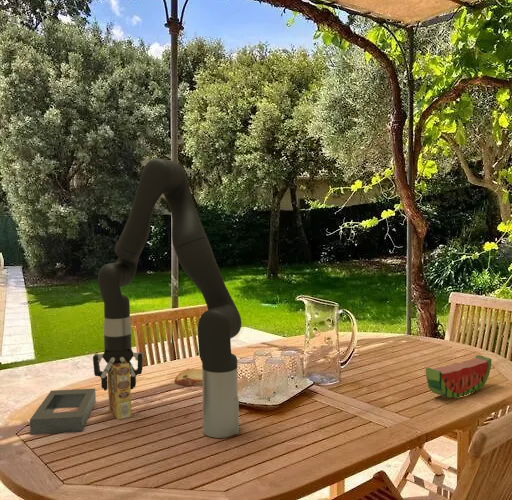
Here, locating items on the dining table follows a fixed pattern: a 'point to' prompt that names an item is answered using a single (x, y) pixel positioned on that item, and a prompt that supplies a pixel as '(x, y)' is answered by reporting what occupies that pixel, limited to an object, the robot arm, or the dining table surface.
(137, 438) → the dining table surface
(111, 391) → the candy box
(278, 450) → the dining table surface
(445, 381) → the fruit slice
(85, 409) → the rectangular frame
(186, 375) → the bread slice
